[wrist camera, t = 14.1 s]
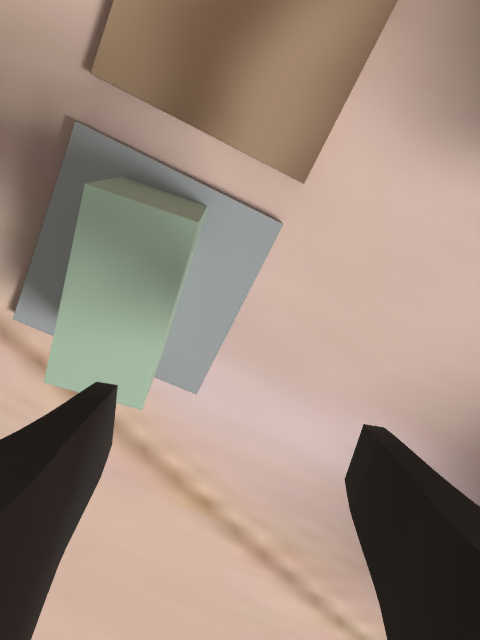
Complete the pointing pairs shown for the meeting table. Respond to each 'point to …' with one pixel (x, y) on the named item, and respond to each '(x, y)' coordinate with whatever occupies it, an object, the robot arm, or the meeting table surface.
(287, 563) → the meeting table surface
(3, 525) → the robot arm
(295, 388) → the meeting table surface
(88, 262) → the sage brick
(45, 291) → the grey mat
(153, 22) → the walnut board
